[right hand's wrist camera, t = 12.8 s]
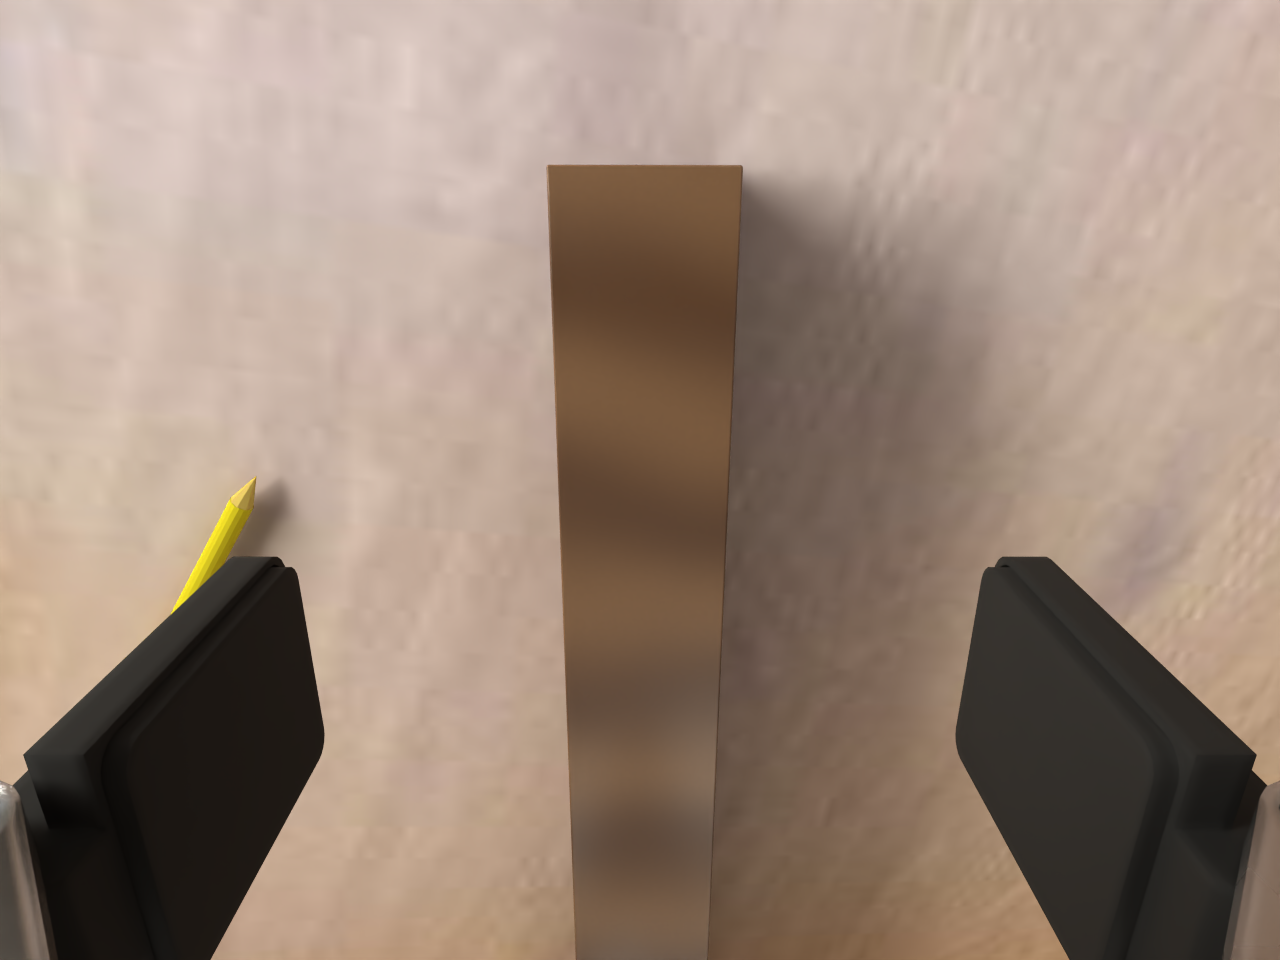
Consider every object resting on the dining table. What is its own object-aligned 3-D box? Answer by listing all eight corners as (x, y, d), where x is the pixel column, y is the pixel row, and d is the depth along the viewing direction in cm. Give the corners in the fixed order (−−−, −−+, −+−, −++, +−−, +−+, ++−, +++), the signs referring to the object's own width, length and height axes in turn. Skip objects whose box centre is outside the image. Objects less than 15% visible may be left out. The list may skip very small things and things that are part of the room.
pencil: (132, 740, 39) (120, 754, 39) (113, 731, 39) (100, 745, 38) (272, 477, 35) (262, 486, 34) (250, 465, 34) (239, 473, 33)
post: (567, 166, 30) (546, 165, 23) (719, 166, 30) (743, 165, 23) (597, 1227, 54) (591, 1384, 47) (682, 1227, 54) (689, 1384, 47)
